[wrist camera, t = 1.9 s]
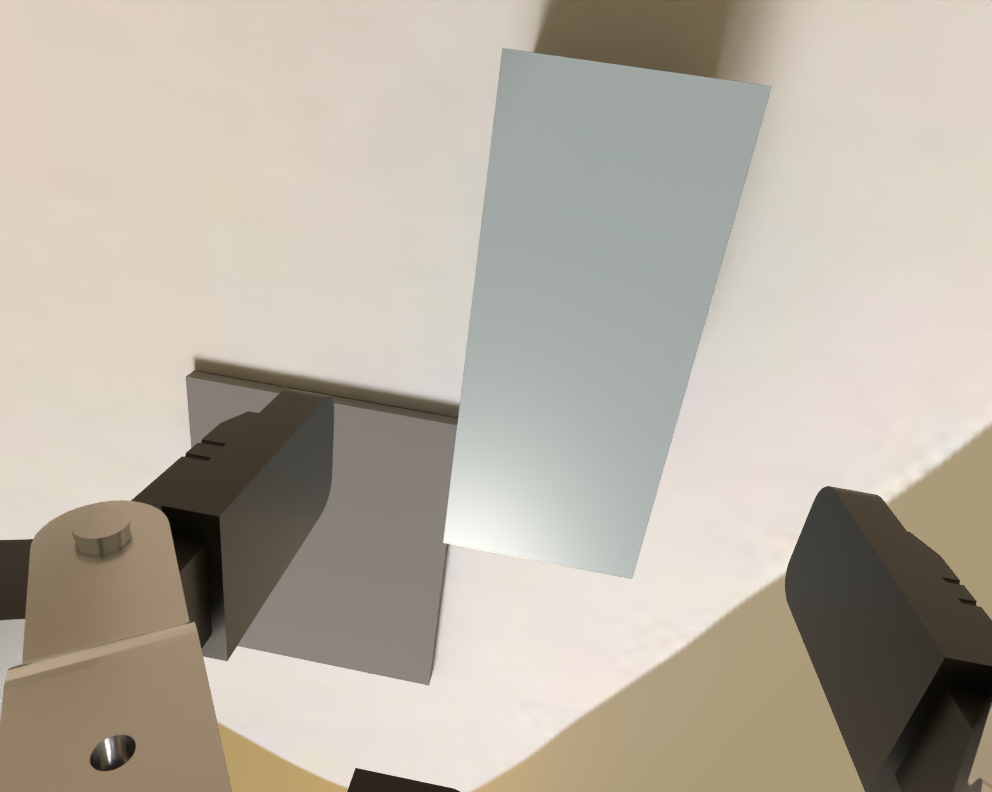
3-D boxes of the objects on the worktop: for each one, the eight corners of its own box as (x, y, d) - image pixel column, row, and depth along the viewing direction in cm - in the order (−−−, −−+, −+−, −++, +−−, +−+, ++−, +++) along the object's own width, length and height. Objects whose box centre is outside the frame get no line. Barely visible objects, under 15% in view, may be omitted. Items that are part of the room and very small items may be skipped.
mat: (194, 371, 26) (185, 376, 25) (463, 419, 25) (460, 425, 25) (213, 630, 32) (206, 639, 31) (431, 675, 31) (428, 685, 31)
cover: (530, 65, 20) (502, 48, 14) (713, 90, 20) (771, 86, 13) (479, 433, 26) (443, 543, 19) (621, 458, 25) (631, 579, 19)
